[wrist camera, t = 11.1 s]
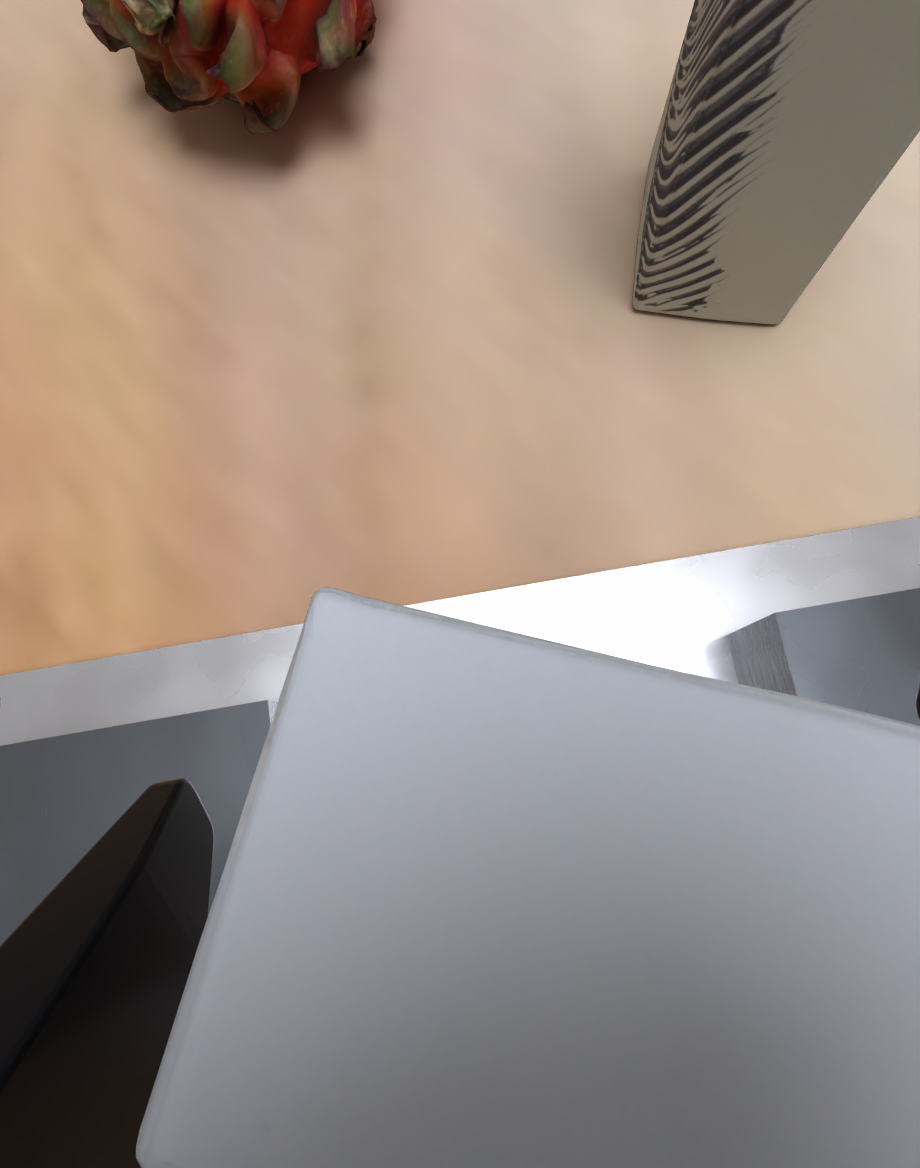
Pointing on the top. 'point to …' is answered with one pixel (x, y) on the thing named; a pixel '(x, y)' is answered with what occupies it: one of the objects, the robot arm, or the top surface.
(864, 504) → the top surface
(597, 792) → the skincare box
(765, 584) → the rail plate
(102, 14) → the dragon fruit
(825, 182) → the box
